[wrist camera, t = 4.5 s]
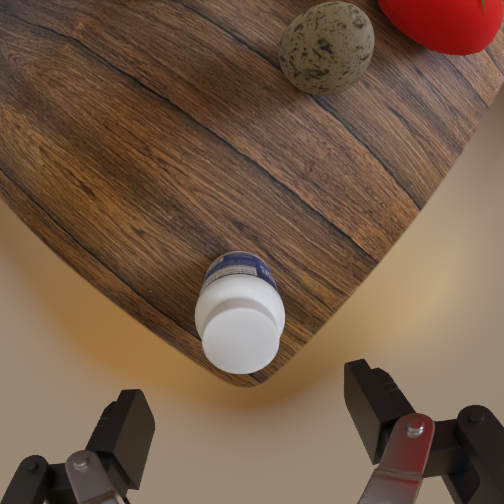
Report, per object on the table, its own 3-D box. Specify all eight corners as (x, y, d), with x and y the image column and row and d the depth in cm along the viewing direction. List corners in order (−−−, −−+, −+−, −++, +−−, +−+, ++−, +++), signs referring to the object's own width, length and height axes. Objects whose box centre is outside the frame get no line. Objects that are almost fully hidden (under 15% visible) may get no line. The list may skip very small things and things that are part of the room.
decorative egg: (336, 38, 21) (385, -22, 11) (352, 102, 22) (416, 65, 12) (266, 42, 21) (283, -28, 11) (280, 108, 22) (310, 64, 12)
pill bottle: (276, 308, 26) (297, 376, 16) (211, 317, 26) (200, 389, 16) (268, 244, 24) (288, 286, 15) (199, 254, 24) (177, 302, 15)
